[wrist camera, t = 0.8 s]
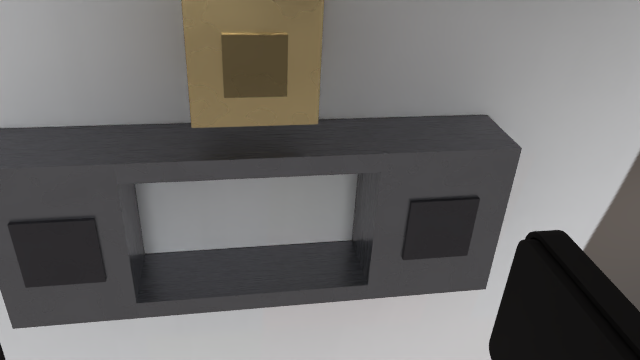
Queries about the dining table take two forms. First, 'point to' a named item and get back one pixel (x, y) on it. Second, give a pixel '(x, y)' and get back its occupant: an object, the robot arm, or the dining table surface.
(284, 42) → the brass block
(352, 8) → the dining table surface
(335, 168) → the grey slotted block
